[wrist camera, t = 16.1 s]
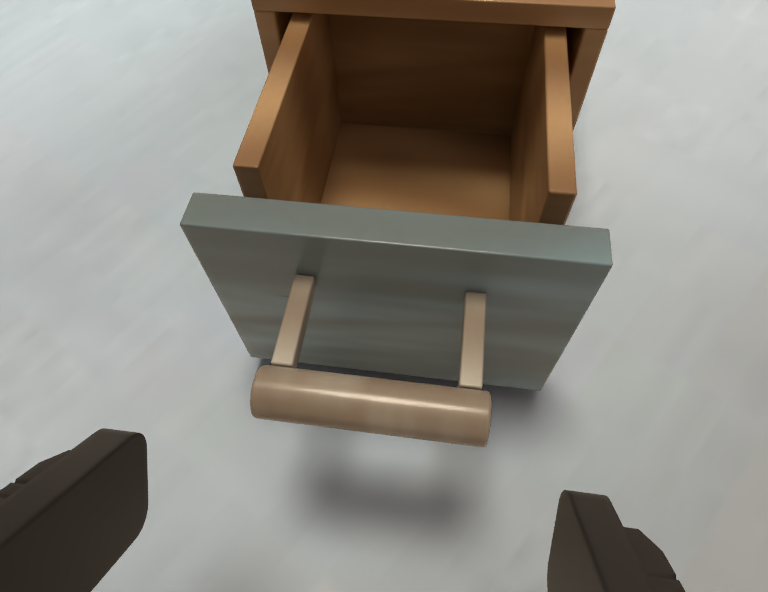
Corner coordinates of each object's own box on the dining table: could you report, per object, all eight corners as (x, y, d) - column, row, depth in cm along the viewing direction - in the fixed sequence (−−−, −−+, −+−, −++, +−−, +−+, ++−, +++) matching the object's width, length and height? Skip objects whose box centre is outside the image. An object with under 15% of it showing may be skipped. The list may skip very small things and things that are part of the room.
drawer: (542, 510, 18) (631, 433, 11) (218, 465, 19) (115, 369, 12) (537, 144, 28) (583, -24, 21) (318, 127, 29) (291, -37, 22)
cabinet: (546, 210, 26) (616, 7, 18) (295, 188, 28) (247, -12, 19) (541, 33, 34) (589, -168, 25) (345, 23, 35) (327, -174, 27)
